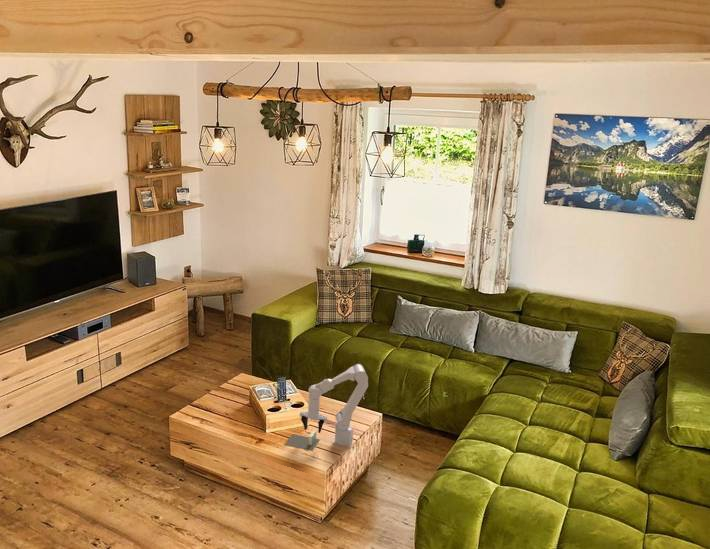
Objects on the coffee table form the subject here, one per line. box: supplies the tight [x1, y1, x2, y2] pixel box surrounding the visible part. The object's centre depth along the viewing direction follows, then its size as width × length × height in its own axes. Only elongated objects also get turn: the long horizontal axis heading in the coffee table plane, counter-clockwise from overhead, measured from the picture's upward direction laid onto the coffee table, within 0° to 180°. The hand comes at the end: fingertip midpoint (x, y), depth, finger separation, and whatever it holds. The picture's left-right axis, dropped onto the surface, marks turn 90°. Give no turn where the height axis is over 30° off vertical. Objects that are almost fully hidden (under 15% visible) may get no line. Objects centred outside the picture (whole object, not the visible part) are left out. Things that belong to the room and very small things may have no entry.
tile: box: [308, 430, 317, 445], centre depth 330 cm, size 2×6×5 cm, turn 164°
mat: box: [283, 433, 321, 452], centre depth 331 cm, size 16×12×1 cm
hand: (312, 430), depth 329 cm, fingers open, 7 cm apart
